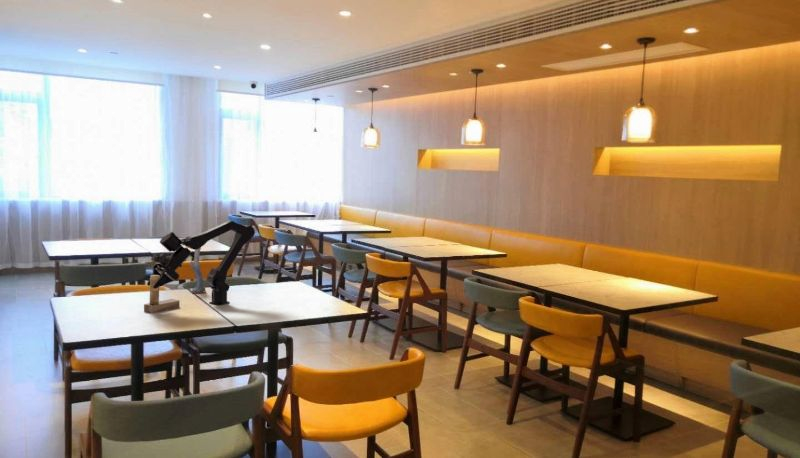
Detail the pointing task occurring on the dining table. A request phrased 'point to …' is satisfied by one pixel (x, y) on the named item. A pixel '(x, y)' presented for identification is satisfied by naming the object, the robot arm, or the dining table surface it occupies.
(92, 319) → the dining table surface
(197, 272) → the antler
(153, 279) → the oak rod
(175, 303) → the block
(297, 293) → the dining table surface
